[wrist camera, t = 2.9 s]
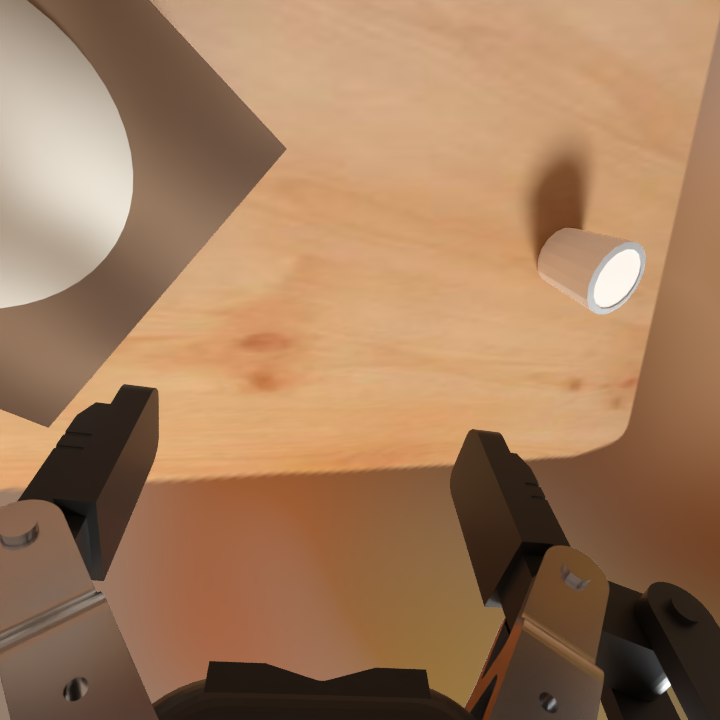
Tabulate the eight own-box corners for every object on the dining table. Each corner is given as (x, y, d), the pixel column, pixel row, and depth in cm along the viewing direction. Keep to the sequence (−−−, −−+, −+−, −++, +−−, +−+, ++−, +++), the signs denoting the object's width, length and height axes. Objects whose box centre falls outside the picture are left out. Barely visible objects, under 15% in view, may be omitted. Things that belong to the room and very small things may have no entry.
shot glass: (564, 292, 52) (619, 320, 46) (521, 280, 48) (575, 309, 43) (596, 230, 49) (659, 251, 44) (554, 212, 45) (616, 233, 40)
